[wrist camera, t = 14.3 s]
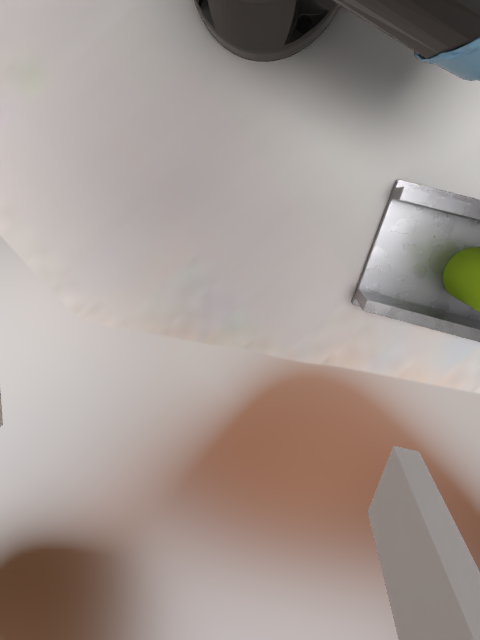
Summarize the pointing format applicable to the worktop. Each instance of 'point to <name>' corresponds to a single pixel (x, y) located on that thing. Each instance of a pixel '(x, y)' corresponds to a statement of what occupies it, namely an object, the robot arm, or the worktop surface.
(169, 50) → the worktop surface
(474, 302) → the soap dispenser
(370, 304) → the track
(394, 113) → the worktop surface
